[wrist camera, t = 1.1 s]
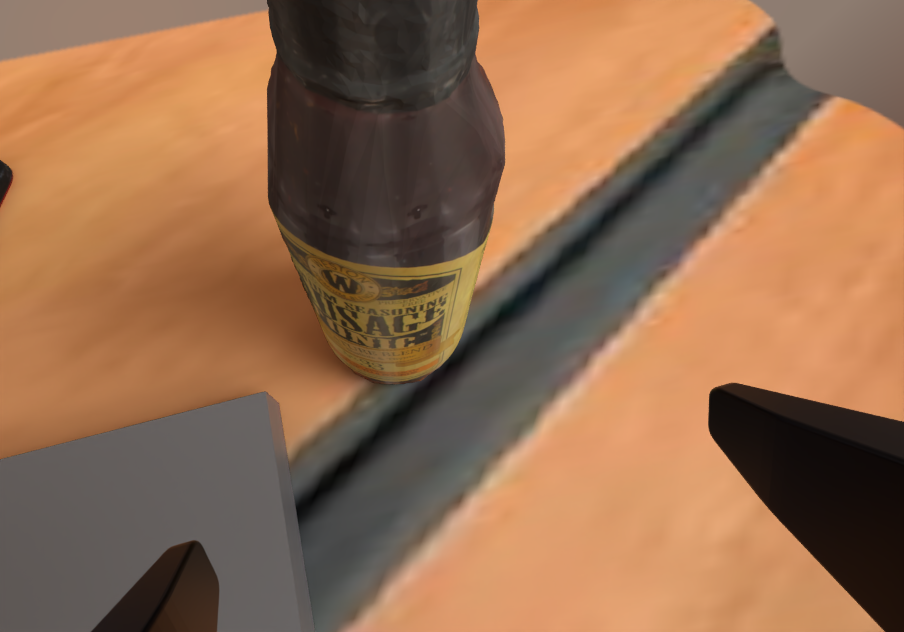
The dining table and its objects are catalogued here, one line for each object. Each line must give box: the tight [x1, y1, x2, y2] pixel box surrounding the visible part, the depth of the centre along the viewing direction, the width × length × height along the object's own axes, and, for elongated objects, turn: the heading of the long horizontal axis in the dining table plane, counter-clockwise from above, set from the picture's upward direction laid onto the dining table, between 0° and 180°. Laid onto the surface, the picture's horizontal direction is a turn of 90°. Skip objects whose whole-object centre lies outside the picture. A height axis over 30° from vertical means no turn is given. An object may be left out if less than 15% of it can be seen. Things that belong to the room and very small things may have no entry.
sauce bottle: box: [267, 0, 505, 384], centre depth 15 cm, size 7×6×20 cm
